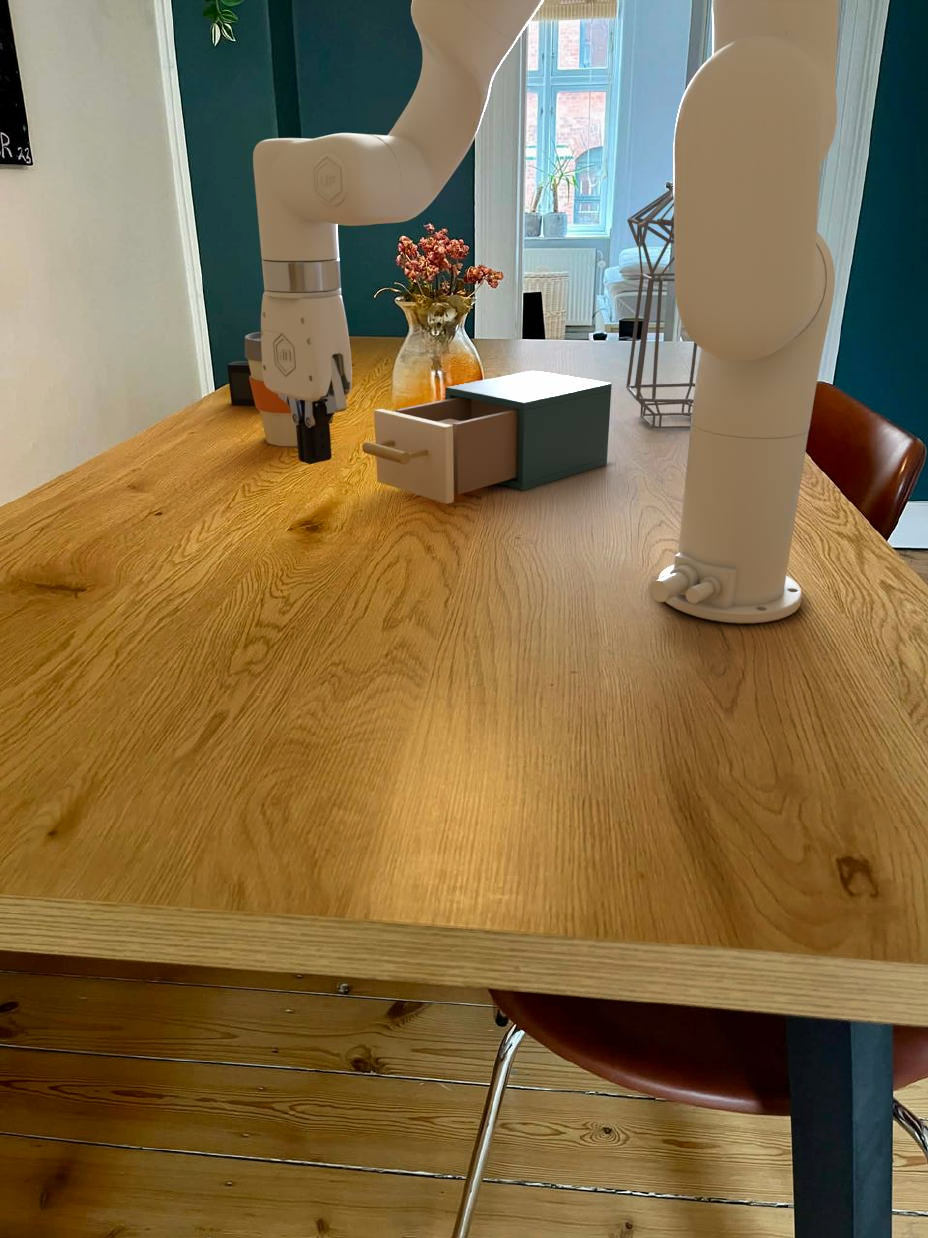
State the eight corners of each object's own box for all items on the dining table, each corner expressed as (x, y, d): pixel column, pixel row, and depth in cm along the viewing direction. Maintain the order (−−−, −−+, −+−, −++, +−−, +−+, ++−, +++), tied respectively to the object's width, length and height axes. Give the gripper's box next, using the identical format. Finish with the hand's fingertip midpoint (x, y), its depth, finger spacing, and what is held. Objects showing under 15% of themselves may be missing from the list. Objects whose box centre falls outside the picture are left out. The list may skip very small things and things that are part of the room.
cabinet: (522, 490, 113) (524, 402, 108) (446, 469, 122) (444, 386, 117) (607, 464, 123) (611, 383, 119) (531, 446, 132) (533, 370, 128)
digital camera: (227, 406, 158) (223, 365, 155) (240, 400, 163) (235, 359, 160) (284, 408, 156) (281, 366, 153) (295, 401, 161) (292, 361, 158)
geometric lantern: (632, 435, 138) (650, 177, 123) (613, 412, 152) (627, 178, 137) (735, 433, 138) (766, 176, 123) (707, 411, 152) (731, 178, 137)
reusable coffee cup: (354, 433, 140) (348, 331, 133) (308, 453, 130) (299, 343, 123) (285, 425, 145) (276, 327, 138) (236, 444, 134) (224, 338, 128)
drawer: (419, 512, 102) (416, 433, 99) (350, 489, 111) (345, 415, 107) (537, 476, 115) (539, 405, 111) (467, 458, 123) (467, 391, 119)
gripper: (229, 276, 93) (247, 453, 101) (315, 287, 83) (328, 482, 91) (290, 272, 98) (303, 441, 105) (379, 281, 88) (386, 467, 96)
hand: (315, 460), depth 98 cm, fingers closed
